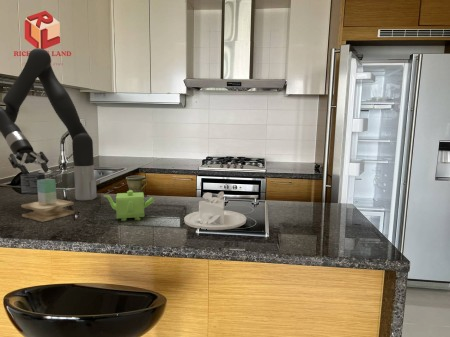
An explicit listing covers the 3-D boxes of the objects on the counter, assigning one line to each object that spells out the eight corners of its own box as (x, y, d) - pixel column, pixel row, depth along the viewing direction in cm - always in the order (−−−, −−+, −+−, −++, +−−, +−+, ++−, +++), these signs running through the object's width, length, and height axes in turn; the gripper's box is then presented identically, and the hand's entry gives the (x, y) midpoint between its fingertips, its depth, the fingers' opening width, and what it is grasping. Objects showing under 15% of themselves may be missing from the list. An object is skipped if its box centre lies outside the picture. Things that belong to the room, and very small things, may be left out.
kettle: (103, 219, 131) (102, 192, 129) (129, 211, 143) (128, 186, 142) (132, 225, 124) (131, 196, 123) (156, 216, 136) (155, 190, 135)
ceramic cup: (122, 196, 174) (121, 177, 173) (135, 192, 183) (135, 175, 182) (141, 198, 168) (140, 179, 167) (153, 195, 177) (153, 177, 176)
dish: (177, 215, 139) (177, 189, 137) (232, 210, 148) (232, 186, 146) (193, 233, 116) (193, 202, 114) (256, 226, 125) (257, 197, 123)
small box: (46, 191, 183) (45, 173, 182) (39, 194, 177) (37, 175, 176) (29, 191, 184) (27, 173, 183) (20, 193, 178) (19, 174, 177)
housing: (49, 201, 139) (48, 178, 138) (56, 203, 137) (55, 179, 136) (38, 203, 135) (37, 180, 134) (45, 205, 133) (44, 181, 131)
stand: (54, 209, 146) (53, 198, 145) (74, 213, 139) (73, 202, 139) (22, 216, 134) (21, 204, 133) (42, 221, 127) (41, 209, 127)
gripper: (4, 139, 134) (23, 168, 130) (38, 137, 146) (56, 164, 142) (-2, 151, 137) (16, 180, 133) (32, 149, 149) (49, 176, 145)
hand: (37, 172), depth 137 cm, fingers open, 8 cm apart
